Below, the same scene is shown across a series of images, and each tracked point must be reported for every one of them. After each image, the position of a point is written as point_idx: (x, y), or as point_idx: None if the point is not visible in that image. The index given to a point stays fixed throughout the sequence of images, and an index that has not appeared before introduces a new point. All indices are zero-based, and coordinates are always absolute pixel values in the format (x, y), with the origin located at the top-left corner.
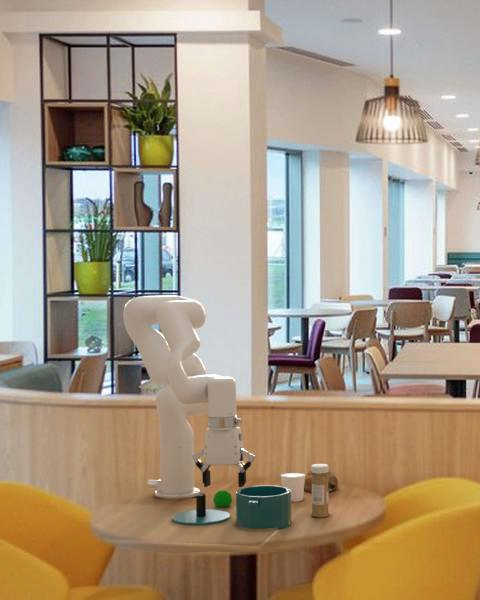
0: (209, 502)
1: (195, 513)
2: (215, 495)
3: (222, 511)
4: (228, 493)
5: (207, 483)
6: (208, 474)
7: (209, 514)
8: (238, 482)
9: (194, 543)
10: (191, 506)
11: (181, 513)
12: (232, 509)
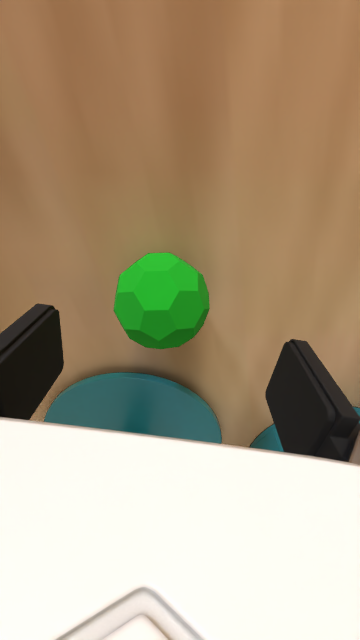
0: (56, 153)
1: (104, 422)
2: (126, 333)
3: (189, 402)
4: (194, 329)
5: (54, 368)
6: (18, 390)
7: (154, 431)
8: (272, 416)
9: None
10: (8, 252)
11: (58, 423)
12: (210, 303)
